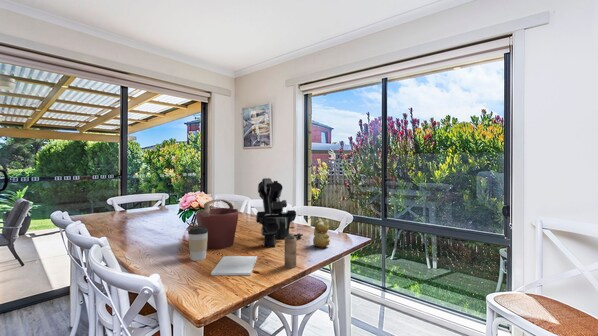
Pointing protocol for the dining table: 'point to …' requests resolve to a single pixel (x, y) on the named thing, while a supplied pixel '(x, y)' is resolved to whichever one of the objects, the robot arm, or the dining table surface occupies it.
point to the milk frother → (283, 228)
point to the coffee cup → (198, 242)
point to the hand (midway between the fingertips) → (278, 232)
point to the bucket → (218, 224)
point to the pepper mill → (290, 251)
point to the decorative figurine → (321, 234)
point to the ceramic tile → (235, 265)
